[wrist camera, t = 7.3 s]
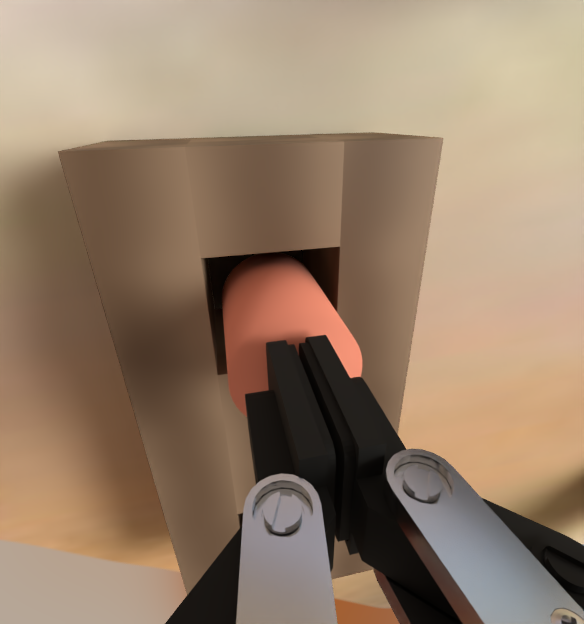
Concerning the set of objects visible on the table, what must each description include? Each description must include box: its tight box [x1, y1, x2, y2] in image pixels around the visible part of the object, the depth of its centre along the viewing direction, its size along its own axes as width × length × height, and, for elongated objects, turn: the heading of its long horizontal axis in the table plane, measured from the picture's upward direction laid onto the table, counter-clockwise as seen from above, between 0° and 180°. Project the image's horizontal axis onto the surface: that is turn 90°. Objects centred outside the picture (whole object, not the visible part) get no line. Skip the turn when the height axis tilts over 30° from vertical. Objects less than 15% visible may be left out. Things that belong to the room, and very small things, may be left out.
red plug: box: [222, 252, 362, 417], centre depth 13 cm, size 4×4×6 cm
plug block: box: [58, 133, 443, 595], centre depth 20 cm, size 12×26×6 cm, turn 1°
